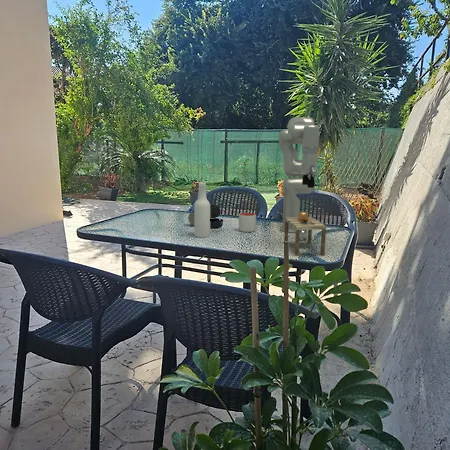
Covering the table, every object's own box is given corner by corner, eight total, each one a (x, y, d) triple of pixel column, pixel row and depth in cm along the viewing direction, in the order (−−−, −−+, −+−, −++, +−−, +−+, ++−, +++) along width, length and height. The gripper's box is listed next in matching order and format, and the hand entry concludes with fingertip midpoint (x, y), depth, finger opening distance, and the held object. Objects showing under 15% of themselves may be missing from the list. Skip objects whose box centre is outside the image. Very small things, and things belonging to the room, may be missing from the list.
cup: (244, 228, 243) (244, 212, 241) (258, 230, 237) (259, 214, 235) (235, 231, 235) (235, 214, 233) (249, 233, 230) (250, 216, 227)
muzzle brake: (221, 219, 268) (221, 204, 265) (200, 228, 243) (200, 211, 241) (208, 218, 272) (208, 203, 269) (187, 226, 247) (186, 210, 245)
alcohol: (212, 237, 220) (212, 183, 214) (197, 238, 218) (196, 183, 211) (207, 233, 229) (207, 181, 222) (192, 234, 226) (192, 182, 219)
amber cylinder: (295, 238, 203) (296, 211, 200) (305, 238, 203) (306, 211, 200) (298, 241, 198) (299, 213, 195) (308, 240, 199) (309, 213, 196)
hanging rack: (284, 243, 209) (285, 217, 206) (310, 243, 210) (311, 216, 207) (295, 255, 187) (296, 226, 184) (324, 255, 189) (326, 226, 186)
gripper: (298, 150, 202) (296, 183, 206) (307, 152, 185) (305, 188, 189) (312, 150, 203) (310, 183, 207) (323, 152, 186) (320, 188, 190)
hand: (308, 186), depth 198 cm, fingers open, 9 cm apart
